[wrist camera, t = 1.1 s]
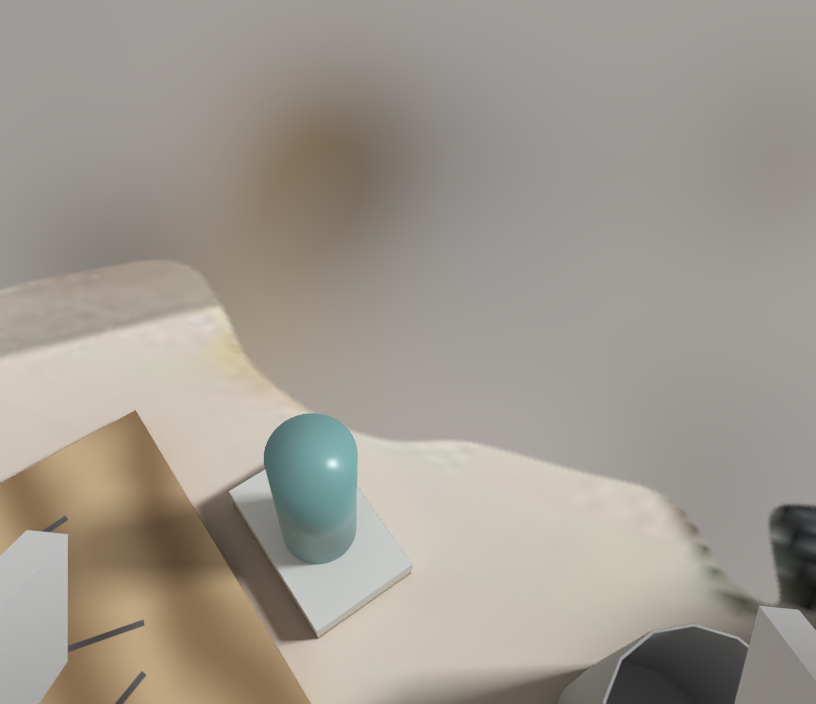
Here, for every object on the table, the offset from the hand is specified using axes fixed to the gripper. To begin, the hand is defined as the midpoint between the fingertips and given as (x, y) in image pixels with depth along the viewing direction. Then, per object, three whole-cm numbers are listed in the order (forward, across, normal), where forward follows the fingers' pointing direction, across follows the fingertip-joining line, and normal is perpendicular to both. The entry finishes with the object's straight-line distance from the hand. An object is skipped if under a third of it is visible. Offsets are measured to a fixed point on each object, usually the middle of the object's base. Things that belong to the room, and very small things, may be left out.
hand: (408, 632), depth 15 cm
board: (+22, -15, -18) cm, 32 cm away
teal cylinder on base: (+27, -4, -13) cm, 30 cm away
